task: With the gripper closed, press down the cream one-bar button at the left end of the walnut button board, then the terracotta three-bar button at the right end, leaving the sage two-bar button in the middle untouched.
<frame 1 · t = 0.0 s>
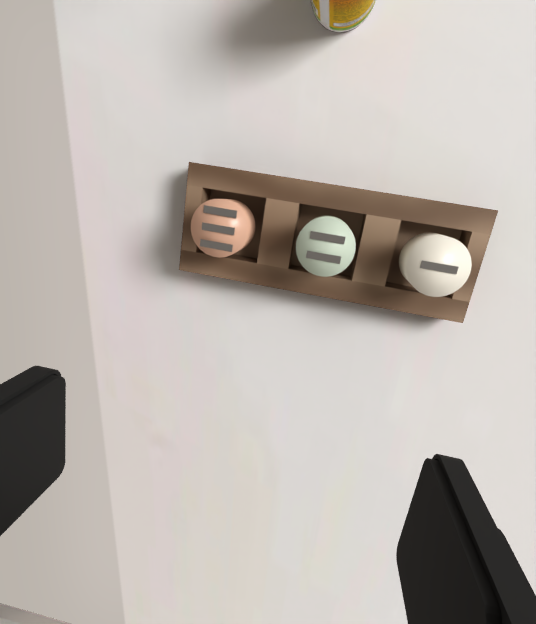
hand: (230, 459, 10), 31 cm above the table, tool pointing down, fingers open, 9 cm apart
button 2: (325, 244, 34), point 5 cm above the table, slide at 0.0 cm
button board: (326, 239, 39), on the table
button 3: (224, 227, 35), point 5 cm above the table, slide at 0.0 cm
button 1: (432, 263, 33), point 5 cm above the table, slide at 0.0 cm
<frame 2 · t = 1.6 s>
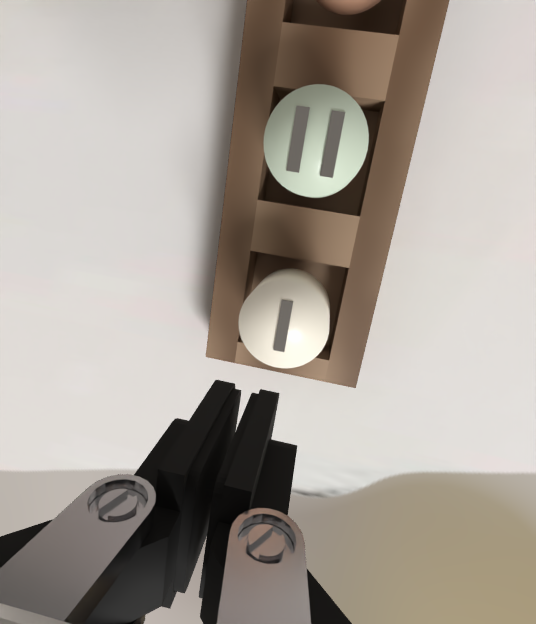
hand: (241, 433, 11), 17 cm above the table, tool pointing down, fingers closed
button 2: (316, 148, 20), point 5 cm above the table, slide at 0.0 cm
button board: (319, 158, 25), on the table
button 1: (287, 315, 23), point 5 cm above the table, slide at 0.0 cm
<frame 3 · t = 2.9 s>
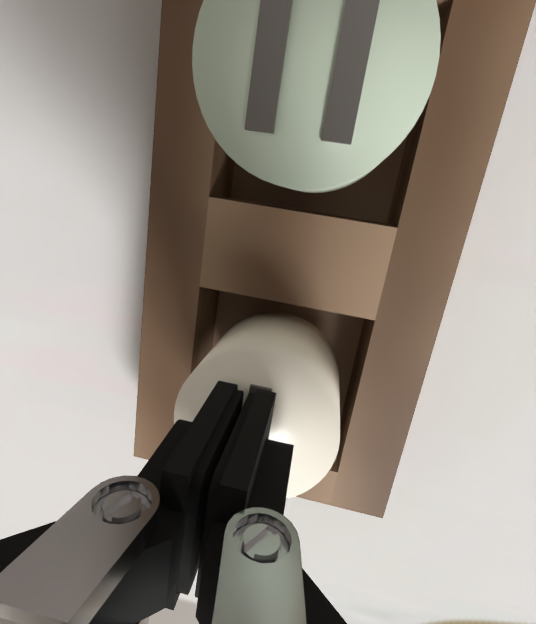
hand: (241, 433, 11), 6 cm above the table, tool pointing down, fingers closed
button 2: (315, 87, 10), point 5 cm above the table, slide at 0.0 cm
button board: (322, 125, 14), on the table
button 1: (265, 397, 13), point 4 cm above the table, slide at 0.9 cm, touching gripper
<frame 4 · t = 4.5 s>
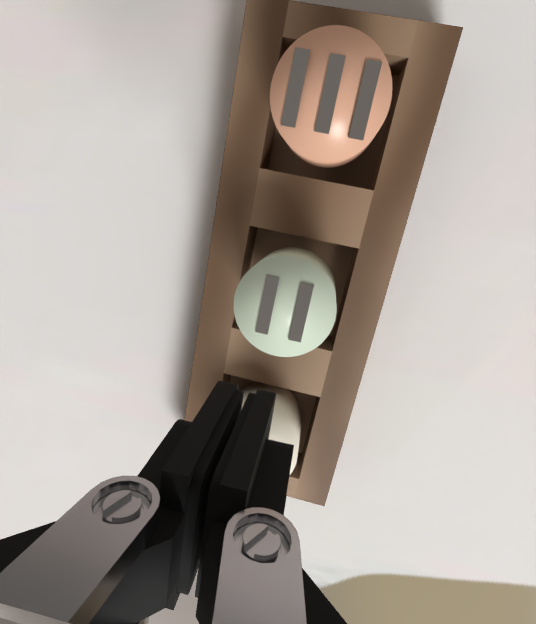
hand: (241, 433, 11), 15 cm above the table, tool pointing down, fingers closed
button 2: (288, 298, 20), point 5 cm above the table, slide at 0.0 cm
button board: (296, 280, 25), on the table
button 3: (329, 106, 18), point 5 cm above the table, slide at 0.0 cm
button 1: (260, 432, 24), point 4 cm above the table, slide at 1.5 cm
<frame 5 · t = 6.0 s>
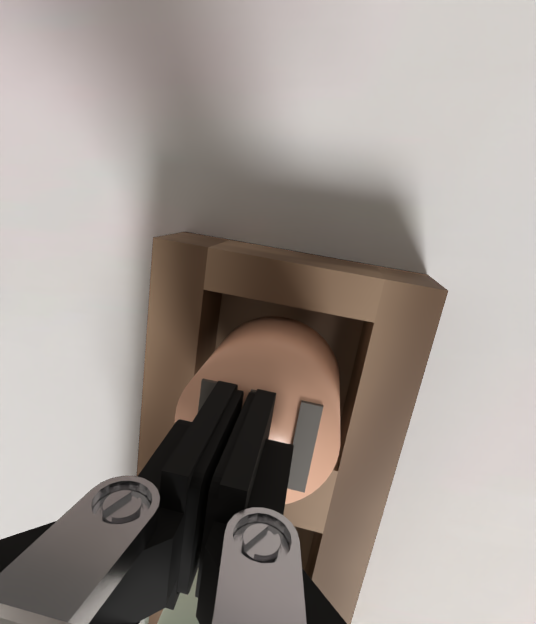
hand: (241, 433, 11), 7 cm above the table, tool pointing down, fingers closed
button 2: (228, 618, 15), point 5 cm above the table, slide at 0.0 cm
button board: (254, 517, 20), on the table
button 3: (266, 402, 13), point 4 cm above the table, slide at 0.6 cm, touching gripper
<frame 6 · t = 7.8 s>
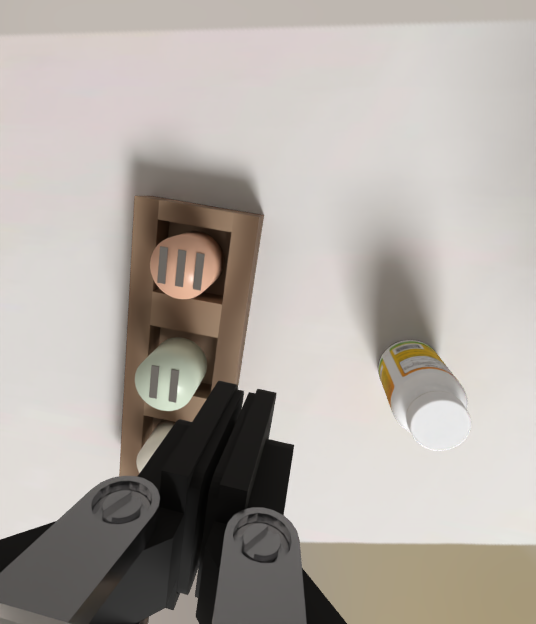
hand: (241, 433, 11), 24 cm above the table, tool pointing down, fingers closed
button 2: (172, 373, 33), point 5 cm above the table, slide at 0.0 cm
button board: (190, 350, 38), on the table
button 3: (188, 264, 32), point 4 cm above the table, slide at 1.5 cm
supplement bottle: (407, 365, 36), on the table
button 1: (170, 452, 37), point 4 cm above the table, slide at 1.5 cm
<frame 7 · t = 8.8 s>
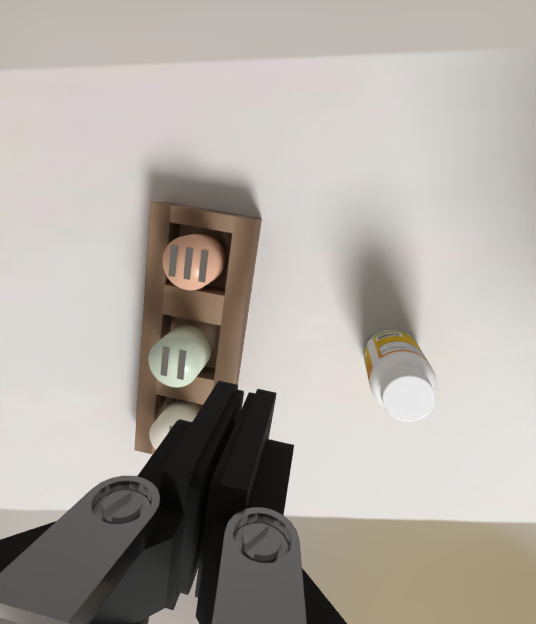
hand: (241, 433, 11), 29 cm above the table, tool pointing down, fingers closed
button 2: (181, 355, 38), point 5 cm above the table, slide at 0.0 cm
button board: (198, 338, 43), on the table
button 3: (195, 260, 37), point 4 cm above the table, slide at 1.5 cm
supplement bottle: (390, 352, 40), on the table
button 1: (178, 427, 42), point 4 cm above the table, slide at 1.5 cm
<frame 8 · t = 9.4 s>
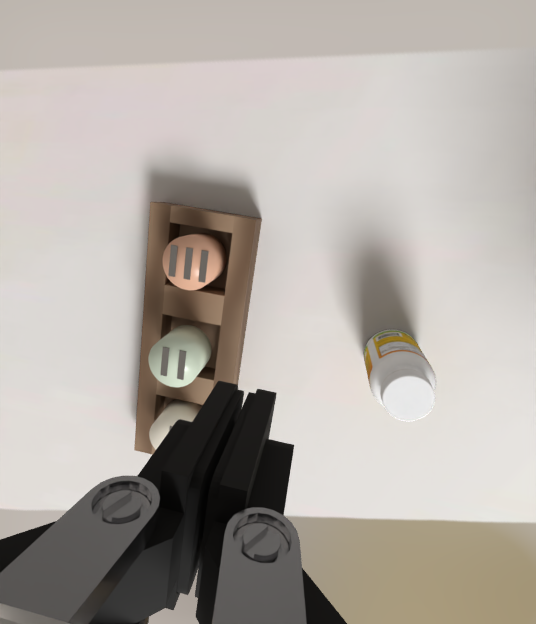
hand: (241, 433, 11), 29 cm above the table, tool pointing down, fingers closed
button 2: (181, 355, 38), point 5 cm above the table, slide at 0.0 cm
button board: (198, 338, 43), on the table
button 3: (195, 260, 37), point 4 cm above the table, slide at 1.5 cm
supplement bottle: (390, 352, 40), on the table
button 1: (178, 427, 42), point 4 cm above the table, slide at 1.5 cm
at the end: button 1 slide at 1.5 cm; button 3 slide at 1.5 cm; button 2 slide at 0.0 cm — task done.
